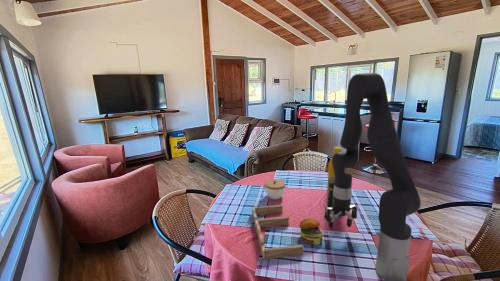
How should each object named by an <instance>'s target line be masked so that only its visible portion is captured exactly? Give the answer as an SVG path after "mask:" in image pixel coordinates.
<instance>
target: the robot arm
mask: <svg viewBox="0 0 500 281" xmlns="http://www.w3.org/2000/svg"><path fill="white" fill-rule="evenodd" d="M388 98H389V97H388V95H387V88H386V84H385V79H384V78H383V77H382V76H381V74H379V73H376V72H361V73H356V74H354V75H353V76H352V77H351V78H350V79H349V82H348V86H347V92H346V105H345V120H344V126H343V128H342V129H343V130H342V134H341V138H340V141H339V142H340V147H341V148H343V149H345V151H341V152H338V153H335V154H334V155H333V154H332V155H333V157H332V156H331V158H332V165H333V170H334V174H335V183H334V190H333V206H332V208H328V207H327V206H326V207H324V208H325V209H324V220H326V222H328V225H327V226H328V228H329V229H331V230H333V229H334V221H335V220H336V219H337V218H338V217H339V218H340V217H347V218H346V226H347V228H351V227H352V224H353V220H354V219H357V218H358V207H357V206H356V205H355V204H352V193H353V191H352V190H353V189H352V186H353V184H352V183H353V174H351V173H350V172H348V171H345V169H349V168H354V167H355V166H356V165H357V164H358V162H359V159H360V157H359V156H360V154H359V151H360V150H359V145H360V141H361V139H362V133H363V123H362V118H361V108H362V105H363V101H364V100H367V103H368V106H369V112H370V118H369V123H368V127H367V140H368V141H367V142H368V143H369V148H370V150H371V153H372V156H373V157H374V159H376V161H377V162H378V163H379V164H380V165H381V166H382V167H383V169H384V170H385V172H387V175H388V177H389V180H390V183H391V186H392V189H389V190H386V191H384V192H383V193H382V194H381V196H380V199H379V204H378V206H379V207H378V208H379V209H378V222H379V234H378V235H379V236H378V242H377V250H376V260H375V261H376V262H375V268H374V269H375V271H376V273H377V275H378V276H379V277H381V278H382V279H384V281H407V279H408V273H409V267H410V266H409V265H410V261H411V259H410V257H409V251H410V243H411V237H412V228H411V226H410V225H409V223H407V217H408V216H410V215H412V214H415V213H417V212H418V211H419V210H420V209H421V205H422V203H421V196H420V195H419V194H420V193H419V192H418V190H417V188H416V186H415V183H414V180H413V178H412V176H411V173H410V171H409V167H408V165H407V162H406V159H405V155H404V153H403V148H402V146H401V142H400V139H399V135H398V133H397V129H396V126H395V123H394V120H393V115H392V112H391V108H390V106H389V105H390V104H389V100H388ZM331 211H332V213H331ZM350 211H351V214H350V213H349V212H350ZM330 213H331V214H330ZM334 214H336V215H334Z"/></svg>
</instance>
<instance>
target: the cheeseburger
mask: <svg viewBox="0 0 500 281" xmlns="http://www.w3.org/2000/svg"><path fill="white" fill-rule="evenodd" d="M299 229H300V232H299V235H300V237H301V239H302V241H303V242H305V243H308V244H312V245H315V246H318V245H320V243H321V242H322V240H323V237H324V235H325V234H324V232H323V231H322V230H323V229H321V223H320V221H319V220H316V219H315V218H311V217H307V218H304V219H302V220H301V221H300V222H299Z"/></svg>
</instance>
